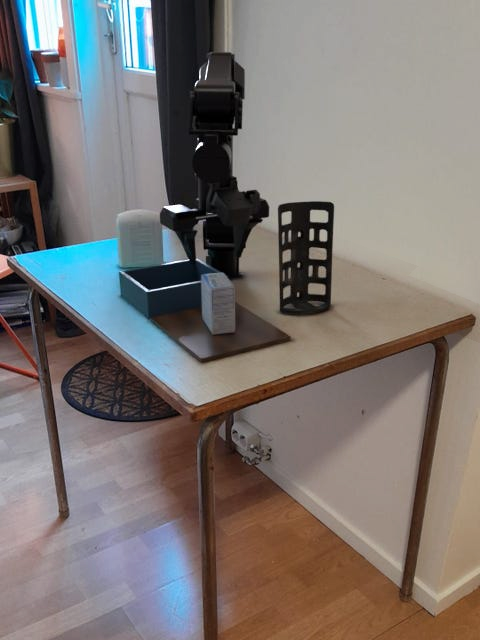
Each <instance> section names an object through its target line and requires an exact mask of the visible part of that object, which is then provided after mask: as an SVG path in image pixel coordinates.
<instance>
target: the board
mask: <svg viewBox="0 0 480 640" xmlns="http://www.w3.org/2000/svg"><path fill="white" fill-rule="evenodd" d="M149 320H150V323H151V324H153V325H154V326H155V327H157V328H158V329H159V330H160V331H161V332H162V333H164V334H165V335H167V336H168V337H169V338H170V339H171V340H173V342H175V343H176V344H178V345H179V346H180V347H181V348H182V349H184V350H185V351H186V352H187V353H188V354H190V355H191V356H192V357H194V358H195V359H196V360H197V361H198V362H199V363H202V364H203V363H206V362H209V361H210V362H211V361H214V360H218V359H222V358H225V357H229V356H235V355H237V354H238V355H239V354H242V353H246V352H250V351H253V350H259V349H262V348H266V347H270V346H274V345H277V344H281V343H286V342H290V341H291V339H292V338H291V335H289V334H287V332H284V331H283V330H282V329H280V328H278V327H276V326H275V325H273V324H272V323H270V322H268V321H267V320H265V319H264V318H263V317H260V316H259V315H257V314H255V313H254V312H252V311H250V310H249V309H248V308H246V307H244V306H243V305H241V304H240V303H238V302H236V301H235V332H234V333H225V334H215V335H212V333H211V331H210V330H209V328H208V326H207V325H206V323H205V322H204V320H203V318H202V307H200V308H195V309H190V310H185V311H181V312H176V313H171V314H166V315H161V316H156V317H152V318H150V319H149Z"/></svg>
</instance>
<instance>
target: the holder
mask: <svg viewBox="0 0 480 640" xmlns="http://www.w3.org/2000/svg"><path fill="white" fill-rule="evenodd" d="M311 211H325V212H326V213H327V221H326V222H320V221H311ZM288 212H291V214H290V215H291V216H290V222H289V223H285V224H283V214H285V213H288ZM334 224H335V203H333V202H331V201H323V200H321V201H320V200H318V201H317V200H314V201H313V200H312V201H310V200H309V201H294V202H285V203H281V204H279V205H278V206H277V229H278V230H277V231H278V234H277V235H278V236H277V237H278V276H279V278H278V279H279V284H278V285H279V286H278V287H279V313H281V314H284V315H285V314H286V315H290V314H309V313H311V314H315V313H321V312H326V311H327V310H329V309H330V308H331V307H332V276H333V272H332V271H333V248H334V247H333V246H334ZM311 230H313V239H312V240H310V239H311V238H310V237H311V234H310V233H311ZM322 230H323V231H326V240H325V241H324V240H321V238H320V237H321V236H320V234H321V231H322ZM283 233H284V234H283ZM289 234H290V235H289ZM299 235H300V236H299ZM283 236H284V237H283ZM289 237H290V240H289ZM283 238H284V240H283ZM283 241H284V242H283ZM311 248H315V249H323V250H325V252H326V253H325V254H326V256H325V257H326V258H325V259H321V258H310V249H311ZM288 250H290V260H287V261H284V259H283V253H284V252H285V251H288ZM298 264H299V265H298ZM311 266H312V273H311V275H310V267H311ZM320 267H322V268H325V277H323V276H322V277H321V276H319V268H320ZM289 271H290V274H289ZM289 275H290V276H289ZM310 284H319V285H324V289H325V290H324V294H320V293H309V285H310ZM287 287H289V288H290V289H289V291H290V292H289V296H286V297H284V289H286V288H287ZM310 302H317V303H321V304H319V305H314V304H312V303H310ZM290 304H292V305H293V306H294V308H293V307H292V308H291V307H290V308H289V307H286V306H288V305H290Z"/></svg>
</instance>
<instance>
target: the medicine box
mask: <svg viewBox="0 0 480 640" xmlns="http://www.w3.org/2000/svg"><path fill="white" fill-rule="evenodd" d="M201 293H202V318H203V320H204V322H205V323H206V325H207V326H208V328H209V330H210V331H211V333H212V335H215V334H225V333H234V332H235V302H236V287H235V285H234V284H233V282H232V281H231V279H228V278H227V276H226V275H225V274H224V273H210V274H204V275H201Z"/></svg>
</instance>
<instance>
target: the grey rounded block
mask: <svg viewBox="0 0 480 640" xmlns="http://www.w3.org/2000/svg"><path fill="white" fill-rule="evenodd" d="M116 216H117V217H116V220H115V231H116V245H117V259H118V267H120V268H141V267H147V266H153V265H159V264H165V263H164V262H165V261H164V235H163V225H162V224H160V212H157V211H154V210H149V209H130V210H127V211H122V212H121V213H118V214H117V215H116Z"/></svg>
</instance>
